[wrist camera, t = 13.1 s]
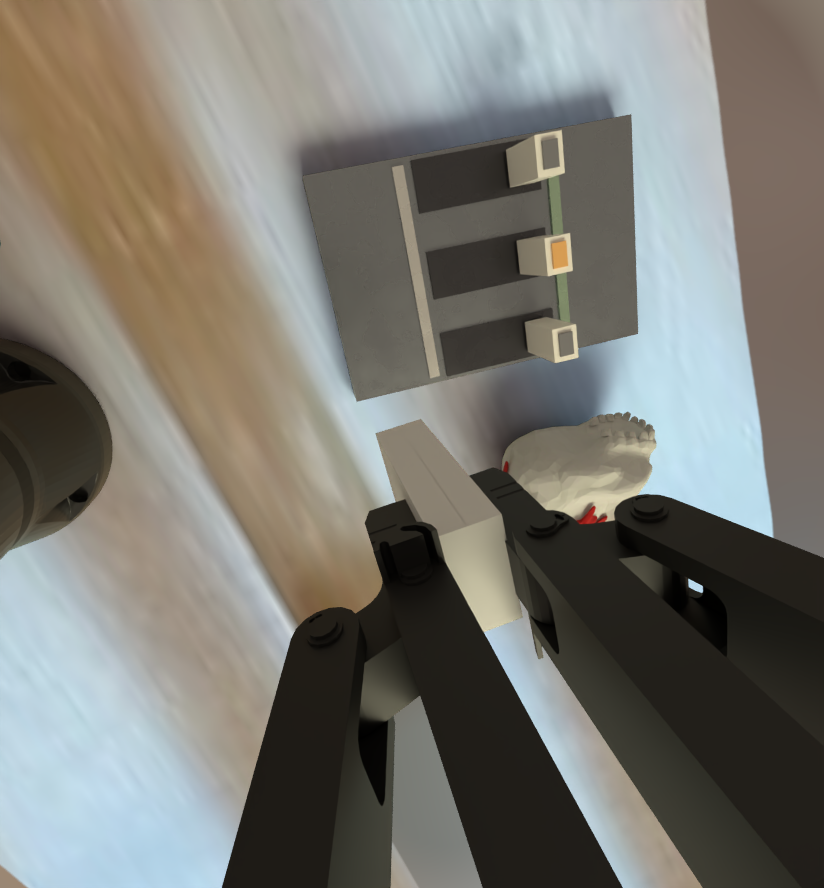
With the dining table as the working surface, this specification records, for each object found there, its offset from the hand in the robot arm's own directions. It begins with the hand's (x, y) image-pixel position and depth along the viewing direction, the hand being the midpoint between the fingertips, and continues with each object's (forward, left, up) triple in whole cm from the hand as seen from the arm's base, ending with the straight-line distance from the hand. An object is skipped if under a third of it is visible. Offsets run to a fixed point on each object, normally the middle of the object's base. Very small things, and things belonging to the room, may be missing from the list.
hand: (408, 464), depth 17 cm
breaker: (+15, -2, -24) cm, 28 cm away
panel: (+12, +4, -26) cm, 29 cm away
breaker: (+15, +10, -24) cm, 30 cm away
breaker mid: (+15, +4, -24) cm, 28 cm away
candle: (+15, -15, -27) cm, 34 cm away
